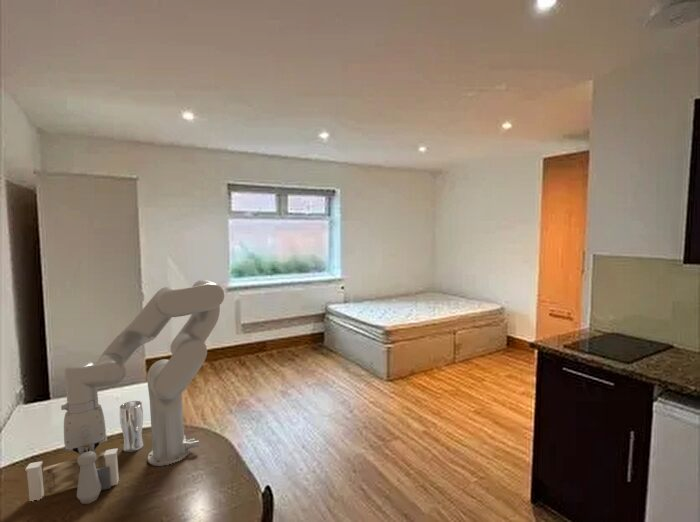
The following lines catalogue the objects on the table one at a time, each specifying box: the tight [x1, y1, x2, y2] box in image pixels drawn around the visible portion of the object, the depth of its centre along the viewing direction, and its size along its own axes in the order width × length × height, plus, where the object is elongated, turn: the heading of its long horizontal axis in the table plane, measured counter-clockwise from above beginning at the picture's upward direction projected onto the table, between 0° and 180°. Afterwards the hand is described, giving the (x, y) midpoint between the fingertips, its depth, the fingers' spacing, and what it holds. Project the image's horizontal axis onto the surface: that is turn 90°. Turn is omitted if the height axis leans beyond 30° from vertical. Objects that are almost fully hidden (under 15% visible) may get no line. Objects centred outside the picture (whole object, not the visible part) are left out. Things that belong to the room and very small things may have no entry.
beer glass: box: [119, 400, 144, 453], centre depth 139 cm, size 7×7×15 cm
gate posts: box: [25, 448, 120, 502], centre depth 116 cm, size 22×4×10 cm, turn 109°
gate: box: [42, 451, 106, 495], centre depth 118 cm, size 15×2×7 cm, turn 121°
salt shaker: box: [76, 451, 102, 505], centre depth 112 cm, size 6×6×13 cm
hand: (88, 464), depth 121 cm, fingers closed
